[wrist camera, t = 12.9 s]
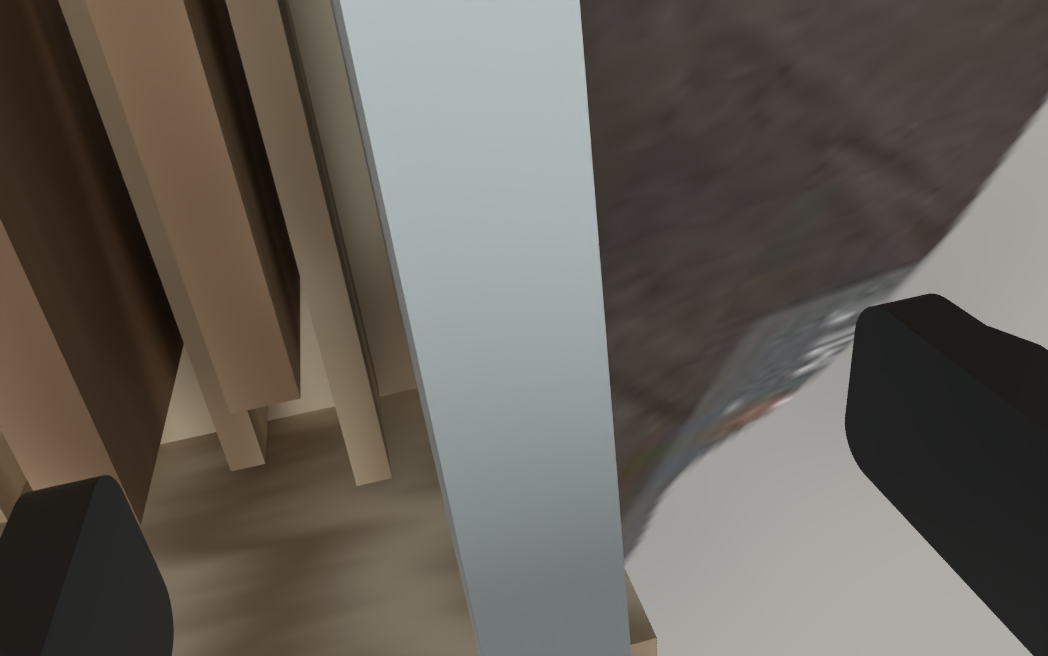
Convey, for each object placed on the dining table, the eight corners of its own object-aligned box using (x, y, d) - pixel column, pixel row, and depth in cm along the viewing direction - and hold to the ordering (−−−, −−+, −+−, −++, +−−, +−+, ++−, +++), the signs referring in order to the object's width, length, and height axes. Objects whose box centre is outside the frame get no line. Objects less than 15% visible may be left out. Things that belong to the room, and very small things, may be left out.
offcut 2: (246, 283, 25) (230, 413, 19) (132, -85, 20) (62, -63, 14) (299, 272, 25) (300, 399, 19) (201, -94, 20) (160, -76, 14)
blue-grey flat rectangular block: (402, 323, 27) (541, 927, 12) (266, -285, 19) (139, -924, 4) (450, 312, 27) (650, 892, 12) (337, -292, 19) (506, -922, 4)
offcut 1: (133, 335, 25) (61, 544, 17) (-47, -113, 19) (-279, -97, 11) (188, 325, 25) (141, 525, 18) (28, -122, 19) (-151, -112, 12)
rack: (18, 475, 28) (-175, 900, 17) (-427, -358, 17) (-1963, -823, 5) (522, 365, 31) (657, 666, 19) (424, -420, 19) (605, -825, 8)
